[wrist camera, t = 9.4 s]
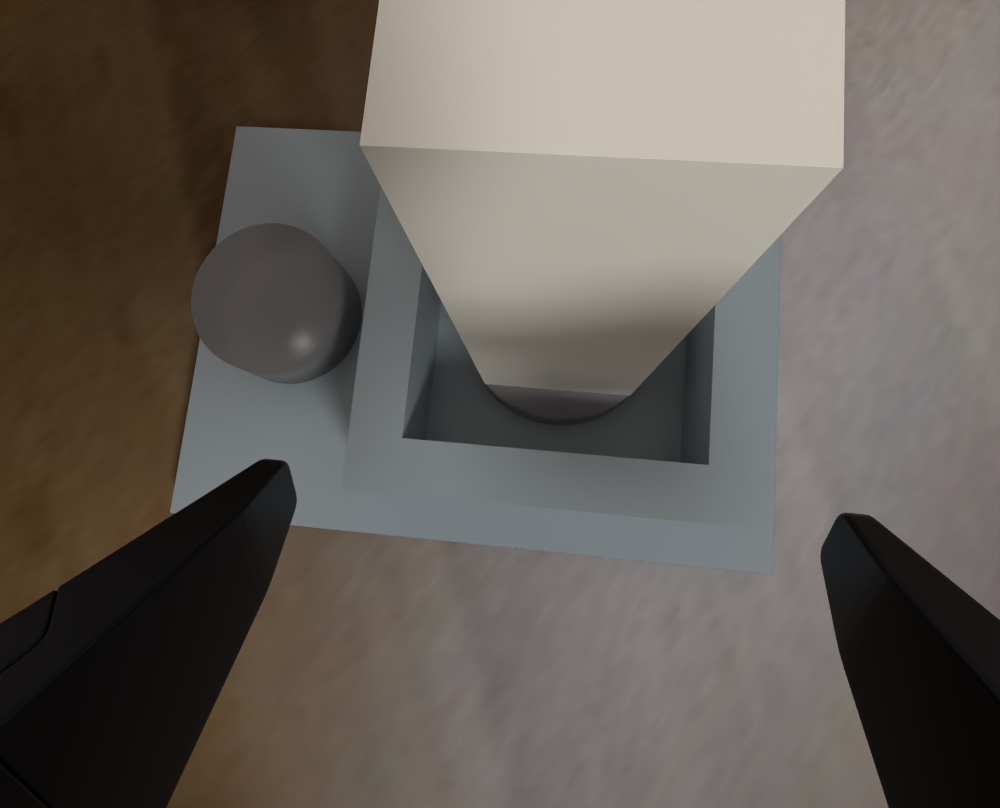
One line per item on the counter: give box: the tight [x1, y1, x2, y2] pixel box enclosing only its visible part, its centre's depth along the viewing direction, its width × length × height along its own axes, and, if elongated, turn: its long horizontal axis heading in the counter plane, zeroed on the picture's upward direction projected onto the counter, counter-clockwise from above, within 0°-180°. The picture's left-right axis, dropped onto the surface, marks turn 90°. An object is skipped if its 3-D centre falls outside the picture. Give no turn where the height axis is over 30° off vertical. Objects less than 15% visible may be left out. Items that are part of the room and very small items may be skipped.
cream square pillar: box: [359, 0, 845, 425], centre depth 12 cm, size 6×6×13 cm
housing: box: [170, 126, 781, 574], centre depth 17 cm, size 13×18×4 cm
